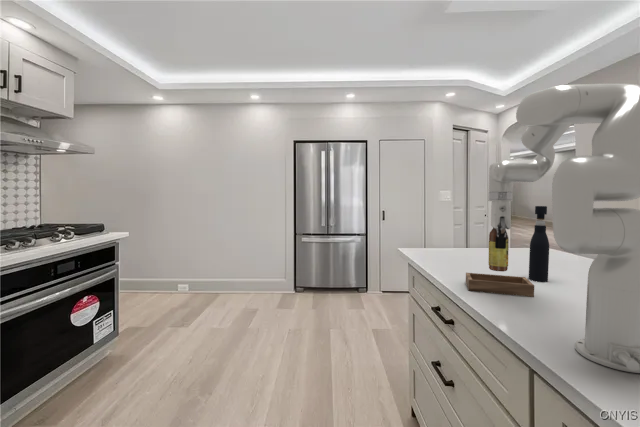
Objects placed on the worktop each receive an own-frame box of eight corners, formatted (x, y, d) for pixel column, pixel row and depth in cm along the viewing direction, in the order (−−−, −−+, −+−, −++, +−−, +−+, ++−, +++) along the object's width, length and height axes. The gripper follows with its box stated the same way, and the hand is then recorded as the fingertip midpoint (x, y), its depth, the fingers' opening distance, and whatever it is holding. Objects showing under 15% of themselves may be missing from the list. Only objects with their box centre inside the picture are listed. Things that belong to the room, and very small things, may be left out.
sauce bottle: (510, 272, 109) (512, 216, 108) (491, 271, 111) (493, 216, 109) (503, 268, 116) (505, 215, 115) (485, 267, 117) (487, 214, 116)
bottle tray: (533, 297, 105) (534, 285, 105) (468, 290, 112) (468, 279, 112) (524, 287, 116) (525, 277, 115) (465, 282, 123) (465, 272, 122)
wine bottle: (531, 281, 124) (534, 206, 122) (526, 277, 130) (529, 205, 129) (550, 282, 122) (553, 206, 121) (544, 278, 128) (547, 206, 127)
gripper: (518, 197, 102) (516, 251, 104) (506, 197, 119) (505, 243, 120) (492, 197, 105) (490, 250, 106) (484, 197, 121) (483, 242, 122)
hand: (498, 246), depth 113 cm, fingers closed on sauce bottle, 6 cm apart
